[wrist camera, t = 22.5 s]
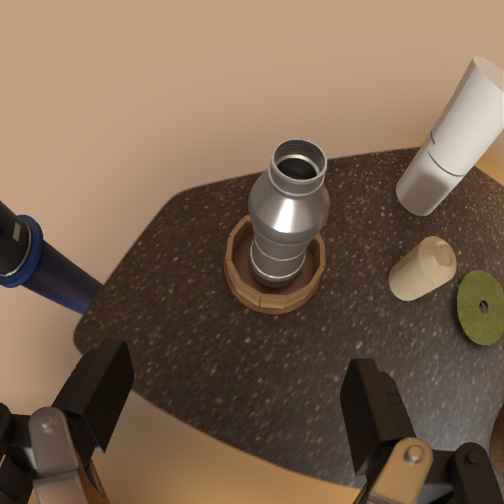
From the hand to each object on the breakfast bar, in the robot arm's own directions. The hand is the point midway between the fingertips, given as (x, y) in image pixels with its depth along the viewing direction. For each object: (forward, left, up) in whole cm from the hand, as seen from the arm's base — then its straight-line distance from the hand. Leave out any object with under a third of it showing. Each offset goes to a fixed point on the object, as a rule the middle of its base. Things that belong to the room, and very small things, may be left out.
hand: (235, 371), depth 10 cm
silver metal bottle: (+3, +13, -24) cm, 28 cm away
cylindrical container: (+25, +26, -25) cm, 44 cm away
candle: (+21, +12, -25) cm, 35 cm away
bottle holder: (+3, +13, -25) cm, 28 cm away
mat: (+34, +8, -25) cm, 43 cm away
